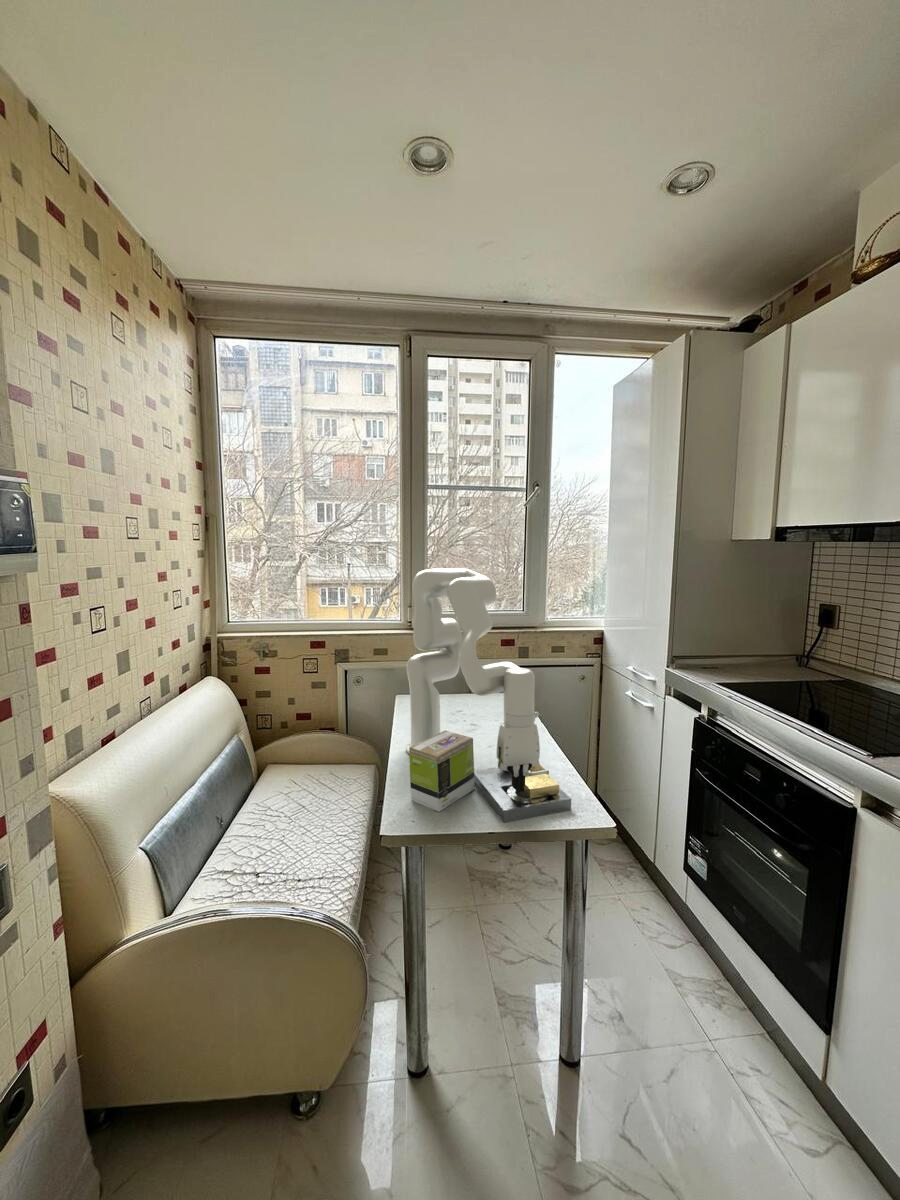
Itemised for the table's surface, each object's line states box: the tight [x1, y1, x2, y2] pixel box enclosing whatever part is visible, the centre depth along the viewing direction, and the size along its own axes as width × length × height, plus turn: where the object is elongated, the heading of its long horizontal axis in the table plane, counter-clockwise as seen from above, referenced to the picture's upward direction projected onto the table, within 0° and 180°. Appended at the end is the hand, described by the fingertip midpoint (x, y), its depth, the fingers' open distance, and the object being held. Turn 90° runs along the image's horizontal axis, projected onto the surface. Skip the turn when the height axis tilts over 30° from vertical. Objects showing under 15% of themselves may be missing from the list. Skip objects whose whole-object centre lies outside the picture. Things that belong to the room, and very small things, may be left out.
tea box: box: [408, 730, 475, 812], centre depth 129 cm, size 15×10×15 cm
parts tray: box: [517, 761, 550, 777], centre depth 136 cm, size 10×6×2 cm, turn 17°
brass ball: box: [529, 762, 541, 772], centre depth 134 cm, size 4×4×4 cm
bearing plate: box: [474, 766, 572, 823], centre depth 130 cm, size 22×18×3 cm
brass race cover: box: [524, 774, 560, 799], centre depth 126 cm, size 6×8×2 cm
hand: (518, 789), depth 124 cm, fingers closed
